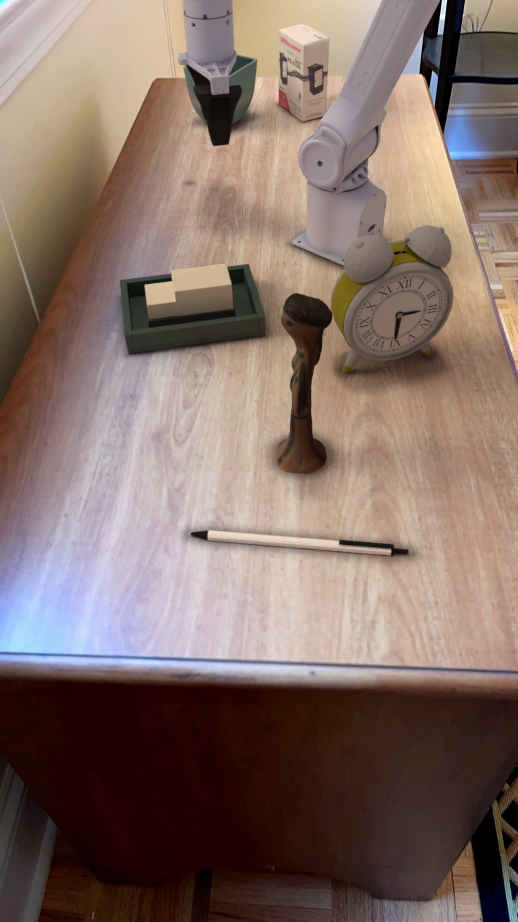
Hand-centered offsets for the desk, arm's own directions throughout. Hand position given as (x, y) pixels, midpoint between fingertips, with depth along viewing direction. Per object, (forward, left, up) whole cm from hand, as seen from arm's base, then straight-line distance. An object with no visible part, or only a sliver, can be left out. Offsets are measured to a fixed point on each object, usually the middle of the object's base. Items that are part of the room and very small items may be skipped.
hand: (216, 131), depth 90 cm
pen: (-43, +39, -11) cm, 59 cm away
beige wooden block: (-14, +21, -10) cm, 27 cm away
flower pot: (+18, -21, -11) cm, 30 cm away
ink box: (+10, -32, -11) cm, 35 cm away
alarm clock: (-35, +13, -11) cm, 39 cm away
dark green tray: (-14, +21, -10) cm, 27 cm away
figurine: (-37, +30, -11) cm, 49 cm away
